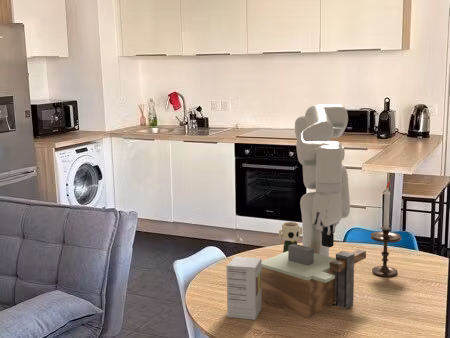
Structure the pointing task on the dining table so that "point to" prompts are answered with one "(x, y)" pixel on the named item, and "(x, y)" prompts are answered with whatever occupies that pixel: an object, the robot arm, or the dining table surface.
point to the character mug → (290, 234)
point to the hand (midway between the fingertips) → (327, 245)
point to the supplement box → (244, 288)
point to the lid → (301, 263)
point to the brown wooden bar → (341, 263)
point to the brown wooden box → (309, 289)
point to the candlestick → (385, 240)
